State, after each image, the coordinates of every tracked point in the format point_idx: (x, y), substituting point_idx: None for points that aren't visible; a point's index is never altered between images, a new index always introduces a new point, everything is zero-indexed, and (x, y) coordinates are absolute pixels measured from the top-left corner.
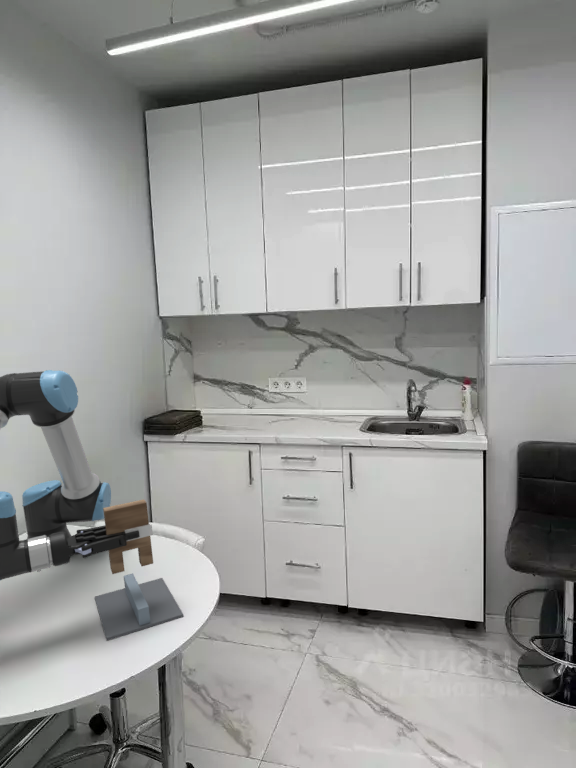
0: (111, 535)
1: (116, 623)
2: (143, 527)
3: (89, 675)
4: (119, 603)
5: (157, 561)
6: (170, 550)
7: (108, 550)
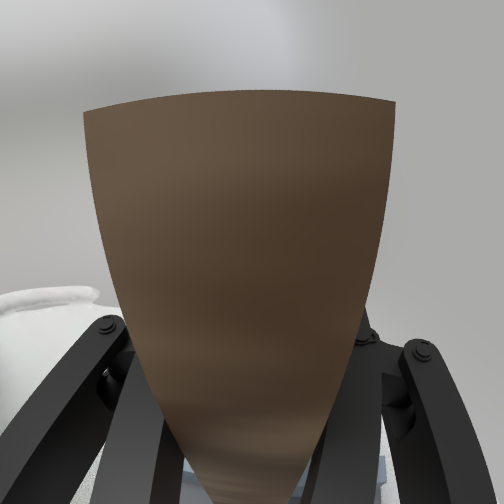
0: (373, 417)
1: None
2: None
3: None
4: None
5: None
6: (75, 326)
7: (214, 489)
